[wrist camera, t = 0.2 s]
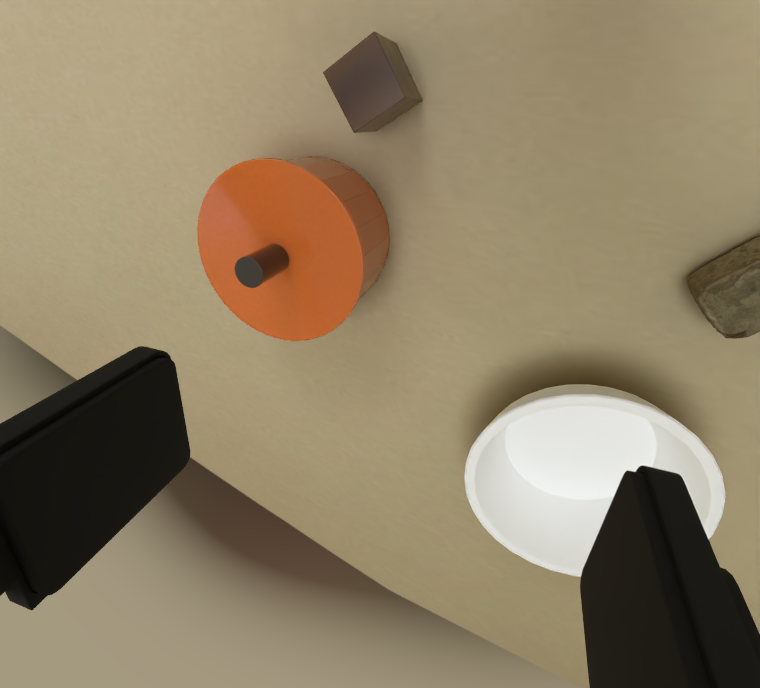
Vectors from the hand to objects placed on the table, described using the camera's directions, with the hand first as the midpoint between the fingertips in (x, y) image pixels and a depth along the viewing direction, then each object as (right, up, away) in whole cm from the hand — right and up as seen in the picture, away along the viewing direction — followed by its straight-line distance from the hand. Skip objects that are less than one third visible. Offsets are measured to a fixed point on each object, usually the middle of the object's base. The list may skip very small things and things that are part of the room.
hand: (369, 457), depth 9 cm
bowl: (+22, -9, +40) cm, 47 cm away
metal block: (+1, +25, +31) cm, 40 cm away
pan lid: (-9, +10, +31) cm, 34 cm away
